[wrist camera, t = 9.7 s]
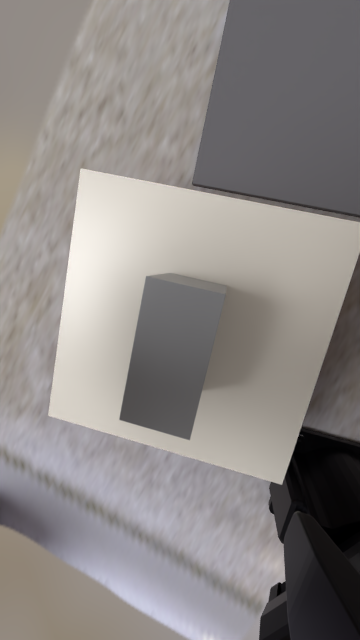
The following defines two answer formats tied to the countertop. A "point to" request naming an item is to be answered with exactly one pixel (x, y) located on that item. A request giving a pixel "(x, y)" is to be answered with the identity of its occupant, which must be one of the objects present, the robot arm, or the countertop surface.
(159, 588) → the countertop surface
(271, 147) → the mat
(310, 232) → the cover sheet
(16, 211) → the countertop surface
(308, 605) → the robot arm
